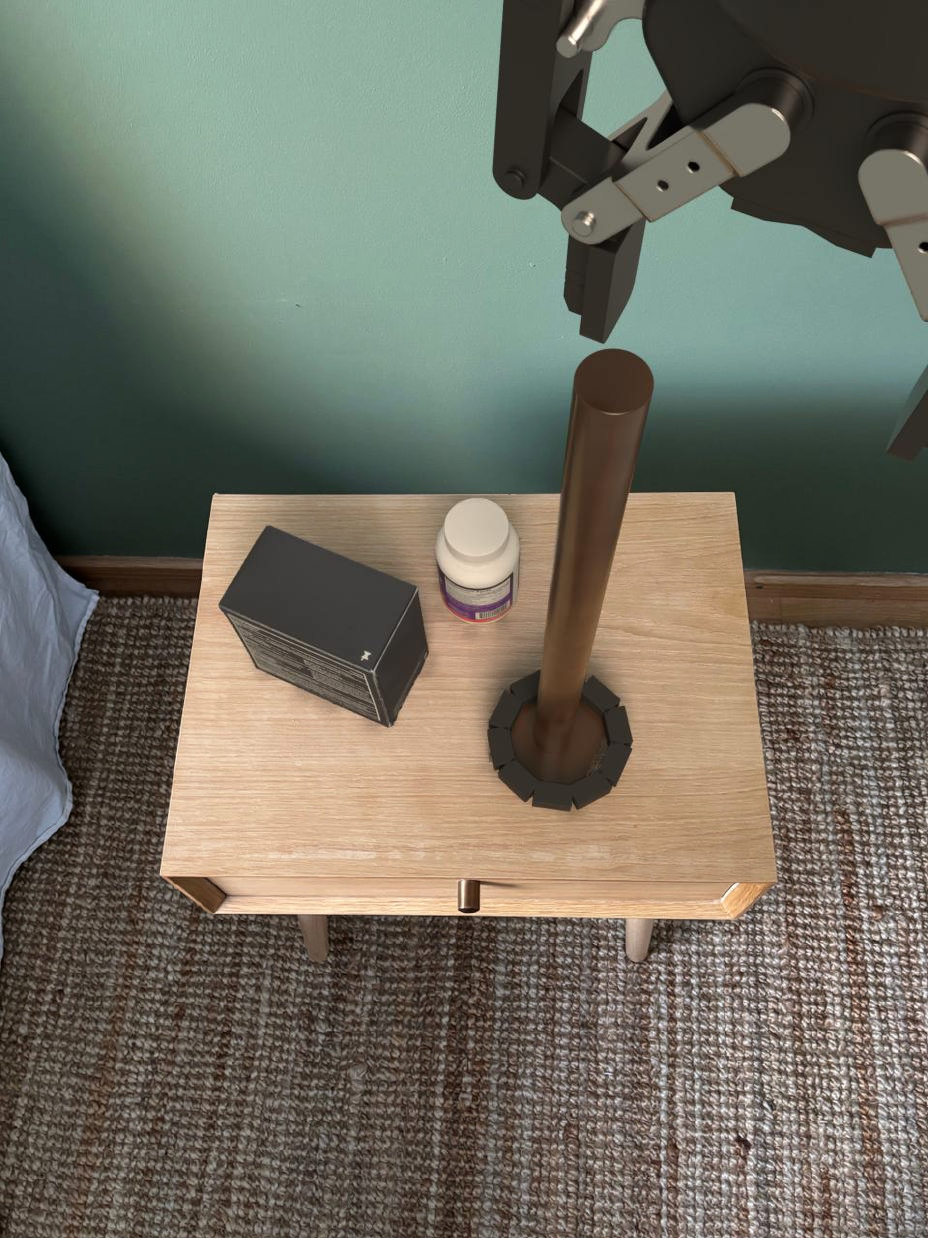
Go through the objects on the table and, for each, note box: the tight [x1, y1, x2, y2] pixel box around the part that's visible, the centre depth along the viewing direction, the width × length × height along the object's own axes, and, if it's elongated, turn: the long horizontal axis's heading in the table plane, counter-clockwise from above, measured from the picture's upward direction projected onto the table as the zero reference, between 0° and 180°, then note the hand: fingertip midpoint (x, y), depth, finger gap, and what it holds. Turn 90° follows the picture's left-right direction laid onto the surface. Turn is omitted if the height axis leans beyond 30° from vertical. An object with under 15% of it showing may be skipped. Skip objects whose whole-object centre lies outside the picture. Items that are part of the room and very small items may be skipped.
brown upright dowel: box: [489, 347, 655, 784], centre depth 49 cm, size 6×6×40 cm
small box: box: [217, 524, 430, 729], centre depth 65 cm, size 11×6×10 cm, turn 65°
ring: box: [486, 668, 634, 812], centre depth 65 cm, size 9×9×1 cm
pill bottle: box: [434, 497, 521, 626], centre depth 67 cm, size 5×5×10 cm
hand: (751, 372), depth 28 cm, fingers open, 8 cm apart
